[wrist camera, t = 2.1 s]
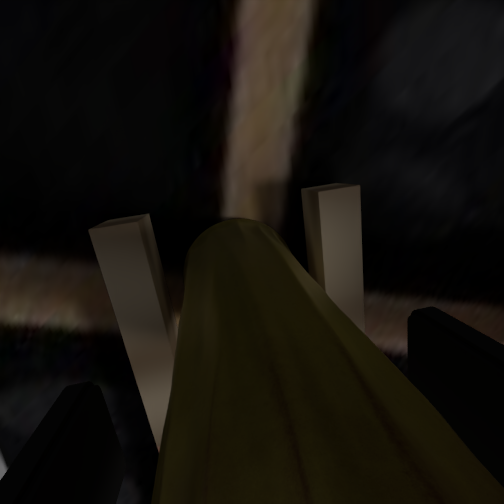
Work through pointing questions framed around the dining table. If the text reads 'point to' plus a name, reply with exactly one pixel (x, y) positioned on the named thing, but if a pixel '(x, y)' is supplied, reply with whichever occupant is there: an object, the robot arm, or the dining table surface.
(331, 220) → the slot rails
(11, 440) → the dining table surface
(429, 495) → the vase
